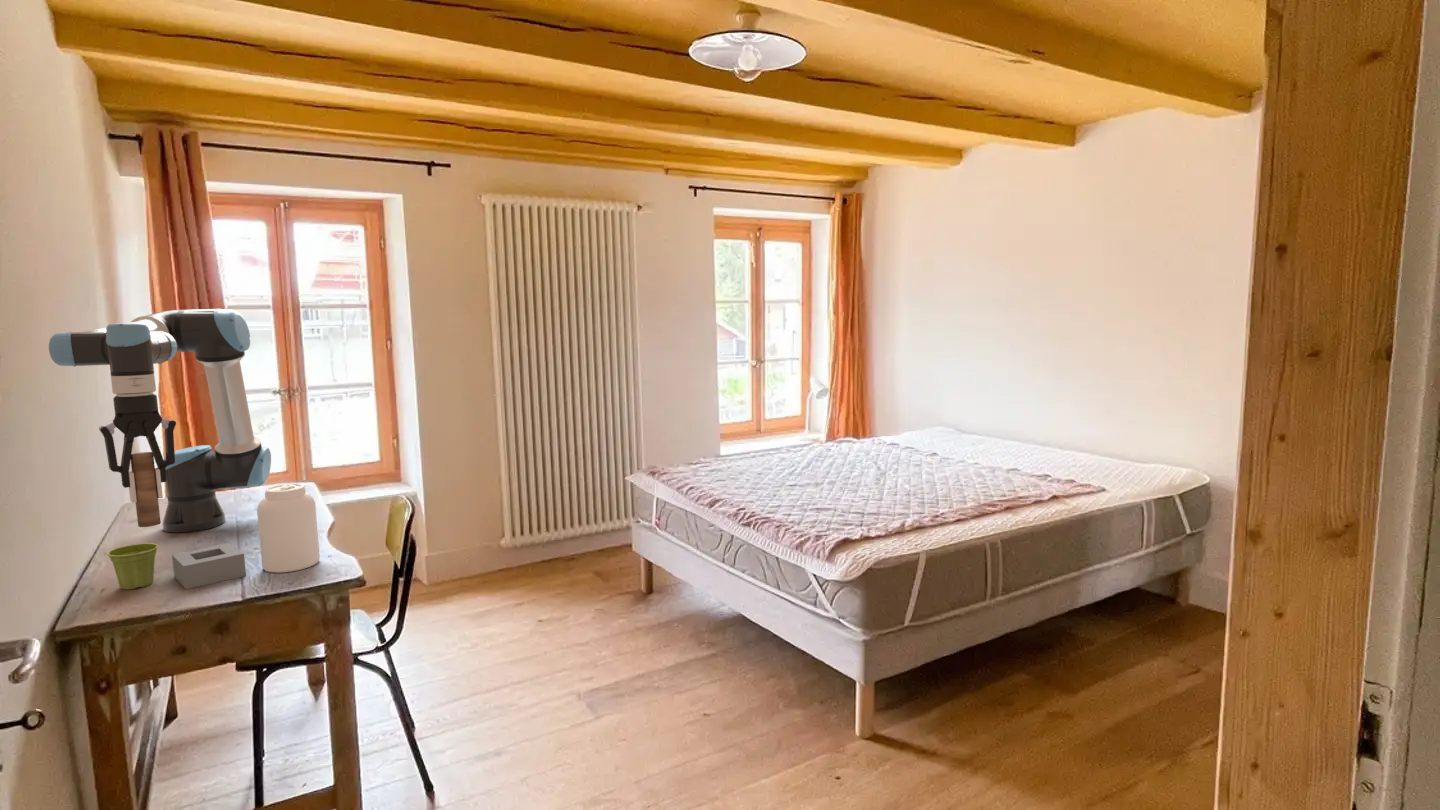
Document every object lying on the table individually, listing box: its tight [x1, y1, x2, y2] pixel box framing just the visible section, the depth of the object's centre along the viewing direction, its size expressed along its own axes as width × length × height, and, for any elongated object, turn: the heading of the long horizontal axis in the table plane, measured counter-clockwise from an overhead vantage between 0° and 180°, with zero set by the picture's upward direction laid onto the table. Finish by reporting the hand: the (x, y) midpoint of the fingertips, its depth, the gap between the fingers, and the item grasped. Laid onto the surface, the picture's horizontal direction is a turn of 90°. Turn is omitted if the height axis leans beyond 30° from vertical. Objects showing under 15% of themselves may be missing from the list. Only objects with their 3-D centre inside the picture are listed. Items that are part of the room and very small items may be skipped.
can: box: [256, 483, 321, 574], centre depth 186 cm, size 12×12×20 cm
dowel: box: [130, 451, 161, 528], centre depth 167 cm, size 4×4×16 cm
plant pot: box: [106, 542, 159, 590], centre depth 175 cm, size 9×9×9 cm
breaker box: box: [171, 542, 247, 590], centre depth 180 cm, size 12×12×6 cm
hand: (146, 499), depth 167 cm, fingers closed on dowel, 4 cm apart
